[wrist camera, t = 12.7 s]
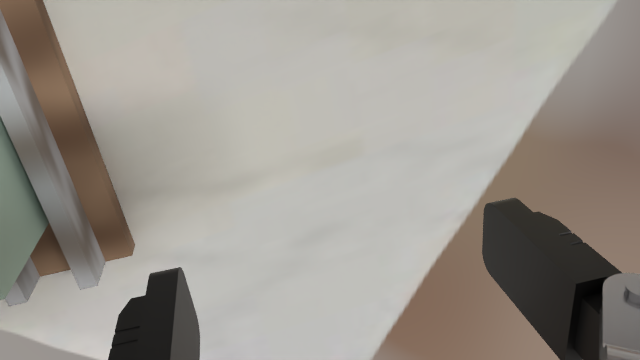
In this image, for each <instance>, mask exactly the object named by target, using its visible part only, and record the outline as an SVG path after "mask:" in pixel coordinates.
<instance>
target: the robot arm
mask: <svg viewBox="0 0 640 360" xmlns="http://www.w3.org/2000/svg"><path fill="white" fill-rule="evenodd" d="M482 254H483V259H484V263H485V266H486V268H487V270H488V272H489V274H490V275H491V276H492V277H493V279H494V280H495V281H496V282H497V283H498V285H499V286H500V287H501V288H502V290H503V291H504V292H505V293H506V294H507V296H508V297H509V298H510V299H511V301H512V302H513V303H514V304H515V305H516V307H517V308H518V309H519V310H520V311H521V313H522V314H523V315H524V316H525V317H526V319H527V320H528V321H529V322H530V324H531V325H532V326H533V327H534V328H535V330H536V331H537V332H538V333H539V334H540V336H541V337H542V338H543V339H544V341H545V342H546V343H547V344H548V345H549V347H550V348H551V349H552V350H553V352H554V353H555V354H556V355H557V356H558V358H559V359H560V360H640V274H635V273H622V272H620V271H619V270H618V269H617V268H615V267H614V266H613V265H612V264H611V263H609V262H608V261H607V260H606V259H605V258H603V257H602V256H601V255H600V254H598V253H597V252H596V251H595V250H594V249H592V248H591V247H590V246H589V245H588V244H586V243H583V242H582V240H581V239H580V238H579V237H578V236H577V235H575V234H574V233H573V234H572V233H571V231H570V230H569V229H568V228H567V227H566V226H564V225H563V224H562V223H561V222H560V221H558V220H557V219H554V218H552V217H550V216H547V215H545V214H543V213H540V212H532V211H531V210H530V209H529V208H528V207H527V206H525V205H524V204H523V203H522V202H521V201H520V200H518V199H516V198H510V199H506V200H502V201H496V202H492V203H488V204H486V205H485V208H484V220H483V248H482ZM199 357H200V332H199V325H198V319H197V315H196V311H195V308H194V305H193V302H192V298H191V295H190V292H189V288H188V285H187V282H186V278H185V275H184V272H183V270H182V268H181V267H179V268H174V269H170V270H165V271H160V272H155V273H151V274H150V275H149V279H148V285H147V291H146V295H145V296H141V297H136V298H131V299H130V301H129V302H128V303H127V305H126V306H125V307H124V309H123V310H122V311H121V313H120V314H119V316H118V321H117V325H116V329H115V335H114V337H113V341H112V349H111V350H110V354H109V358H108V360H199Z"/></svg>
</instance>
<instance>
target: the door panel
mask: <svg viewBox="0 0 640 360" xmlns="http://www.w3.org/2000/svg"><path fill="white" fill-rule="evenodd" d="M48 224H49V221H48V219H47V216H46V214H45V212H44V210H43V208H42V206H41V203H40V201H39V199H38V197H37V195H36V192H35V190H34V188H33V186H32V184H31V182H30V179H29V177H28V175H27V173H26V171H25V169H24V166H23V164H22V162H21V160H20V158H19V155H18V153H17V151H16V149H15V147H14V145H13V142H12V140H11V138H10V136H9V134H8V131H7V129H6V127H5V125H4V123H3V121H2V118H1V116H0V300H1V299H5V298H6V296H7V295H8V293H9V291H10V290H11V288H12V286H13V284H14V283H15V281H16V279H17V277H18V276H19V274H20V272H21V270H22V269H23V267H24V265H25V264H26V262H27V260H28V258H29V257H30V255H31V253H32V251H33V250H34V248H35V246H36V244H37V243H38V241H39V239H40V238H41V236H42V234H43V232H44V231H45V229H46V227H47V225H48Z"/></svg>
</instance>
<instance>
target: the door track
mask: <svg viewBox="0 0 640 360" xmlns="http://www.w3.org/2000/svg"><path fill="white" fill-rule="evenodd" d="M0 116H1V118H2V121H3V123H4V125H5V127H6V129H7V131H8V134H9V136H10V138H11V140H12V142H13V145H14V147H15V149H16V151H17V153H18V155H19V158H20V160H21V162H22V164H23V166H24V169H25V171H26V173H27V175H28V177H29V179H30V182H31V184H32V186H33V188H34V190H35V192H36V195H37V197H38V199H39V201H40V203H41V206H42V208H43V210H44V212H45V214H46V216H47V219H48V221H49V224H48V225H47V227H46V229H45V231H44V232H43V234H42V236H41V238H40V239H39V241H38V243H37V244H36V246H35V248H34V250H33V251H32V253H31V255H30V257H29V258H28V260H27V262H26V264H25V265H24V267H23V269H22V270H21V272H20V274H19V276H18V277H17V279H16V281H15V283H14V284H13V286H12V288H11V290H10V291H9V293H8V295H7V296H6V298H5V300H6V302H7V304H8V305H9V306H12V305H17V304H21V303H25V302H27V301H28V299H29V297H30V295H31V293H32V291H33V289H34V287H35V285H36V283H37V282H38V280H39V278H40V276H44V275H49V274H53V273H58V272H62V271H66V270H71V271H72V273H73V275H74V277H75V280H76V282H77V284H78V286H79V288H80V290H81V289H85V288H89V287H94V286H98V283H99V280H100V277H101V274H102V271H103V268H104V265H105V262H106V261H110V260H114V259H119V258H123V257H127V256H132V254H133V250H134V246H135V244H134V241H133V238H132V236H131V233H130V230H129V228H128V225H127V223H126V220H125V217H124V215H123V212H122V209H121V207H120V204H119V201H118V199H117V196H116V193H115V191H114V188H113V185H112V183H111V180H110V177H109V175H108V172H107V170H106V167H105V164H104V162H103V159H102V156H101V154H100V151H99V148H98V146H97V143H96V140H95V138H94V135H93V132H92V130H91V127H90V124H89V122H88V119H87V116H86V114H85V111H84V109H83V106H82V103H81V101H80V98H79V95H78V93H77V90H76V87H75V85H74V82H73V79H72V77H71V74H70V71H69V69H68V66H67V63H66V61H65V58H64V56H63V53H62V50H61V48H60V45H59V42H58V40H57V37H56V34H55V32H54V29H53V26H52V24H51V21H50V18H49V16H48V13H47V10H46V8H45V5H44V2H43V0H0Z"/></svg>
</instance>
